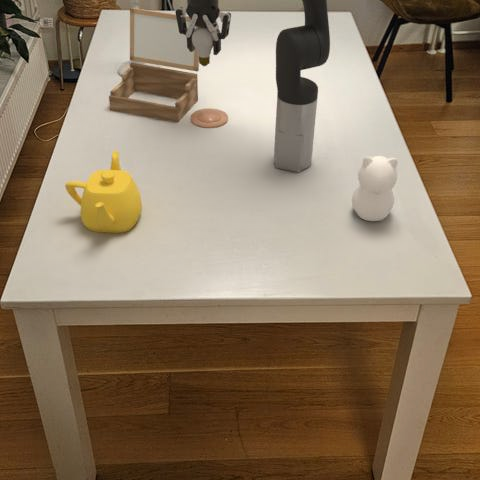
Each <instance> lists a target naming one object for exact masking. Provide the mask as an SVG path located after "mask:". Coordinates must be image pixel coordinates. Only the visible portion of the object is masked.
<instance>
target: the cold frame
mask: <svg viewBox="0 0 480 480" xmlns="http://www.w3.org/2000/svg"><path fill="white" fill-rule="evenodd" d="M198 79H199V78H198V73H194V72H190V71H189V72H188V71H183V70H182V71H181V70H176V69H172V68H171V69H170V68H163V67H161V66H160V67H154V66H148V65H142V64H136V63H130V68H129V69H128V70H126V71H125V72H124V73H123V74H122V77H121V81H120V83H118V84H117V85H116V86H115V87H114V88H112V89H111V90H110V95H108V102H109V110H111V111H113V112H118V113H125V114H131V115H135V116H140V117H145V118H146V117H147V118H151V119H156V120H161V121H166V122H172V123H179V122H180V120H181V119H182V118H183V117H184V116H185V115H186V114H187V113H189V111H190V110H191V109H192V108H193V107H194V106H195V105H196V104H197V102H198V101H199V96H198V95H199V92H198V91H199V90H198V89H199V88H198V87H199V85H198ZM135 92H139V93H142V94H149V95H154V96H159V97H165V98H171V99H176V100H177V101H175V102H174V106H173V105H167V104H162V103H157V102H151V101H147V100H141V99H135V98H129V97H130V96H131V95H133V93H135ZM194 104H195V105H194ZM193 105H194V106H193ZM192 106H193V107H192ZM191 107H192V108H191Z"/></svg>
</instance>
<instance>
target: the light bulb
mask: <svg viewBox="0 0 480 480" xmlns="http://www.w3.org/2000/svg"><path fill="white" fill-rule="evenodd" d="M213 41H214V38H213V36H212V34H211V33H210V31H209V29H208V28H205V27H202V26H201V27H198V28H197V29H196V30H195V31H194V32H193V34H192V43H193V45H194V47H195V48H196V50H197V53H198V55H199V65H201V66H203V67H207V65H209V64H210V63H211V61H210V59H211V53H212V49H213Z"/></svg>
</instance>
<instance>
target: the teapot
mask: <svg viewBox="0 0 480 480" xmlns="http://www.w3.org/2000/svg"><path fill="white" fill-rule="evenodd" d="M119 154H120V153H119V151H118V150H117V149H116V150H114V151H113V152H112V154H111V162H110V169H102V170H101V169H100V170H96V171H94V172H93V173H92V174H90V176H89V177H88V180H87V181H86V182H84V181H79V180H69V181H67V182H66V183H65V190H66V192H67V194H68V195H69V196H70V197H71V198H72V199H73V200H74V201H75V202H76V203H77V204H78V205H79V206H80V217H81V221H82V224H83V225H84V227H86V229H88V231H90V230H91V232H93V231H94V232H93V233H101V232H102V233H103V234H104V233H105V234H120V233H125V232H129V231H130V230H132V229H133V227H134V226H135V225H136V223H137V222H138V220H139V218H140V216H141V214H142V208H143V203H142V198H141V194H140V191H139V188H138V186H137V184H136V182H135V179H133V176H132V175H131V174H130V172H129V171H126V170H122V169H121V165H120V160H119V159H120V158H119V156H120V155H119ZM76 188H80V189H83V191H82V196H81V195H79V193H78V192H77V190H76Z"/></svg>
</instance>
